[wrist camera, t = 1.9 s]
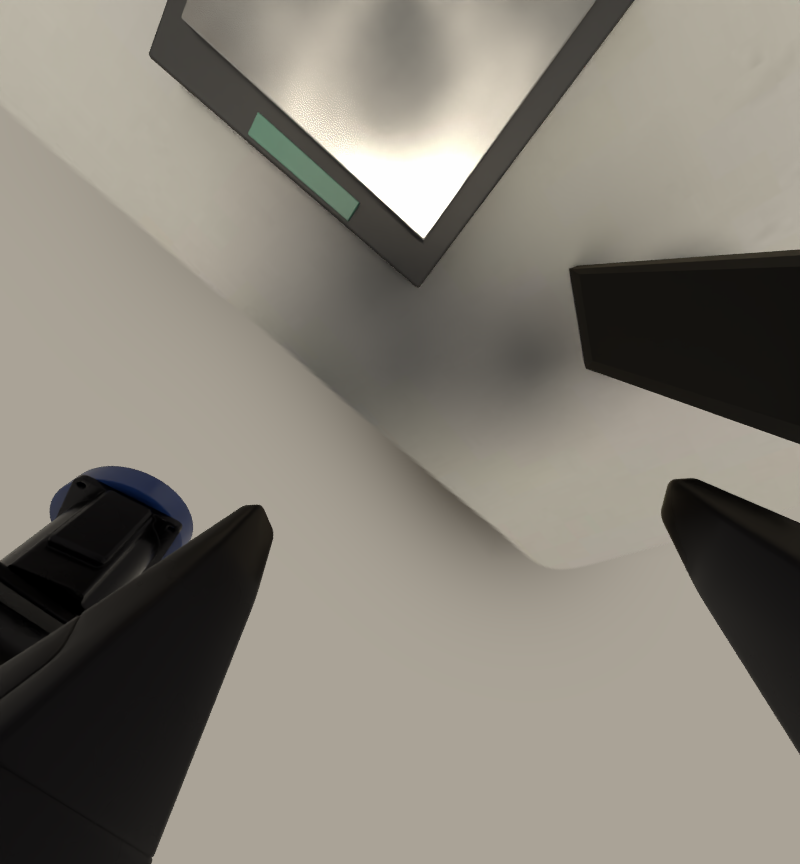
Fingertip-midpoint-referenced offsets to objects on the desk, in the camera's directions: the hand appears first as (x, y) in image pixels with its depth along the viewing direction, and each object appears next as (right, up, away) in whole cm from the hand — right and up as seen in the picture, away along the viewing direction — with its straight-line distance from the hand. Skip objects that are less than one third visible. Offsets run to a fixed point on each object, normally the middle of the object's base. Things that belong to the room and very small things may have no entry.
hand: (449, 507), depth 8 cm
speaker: (+12, +8, +10) cm, 17 cm away
